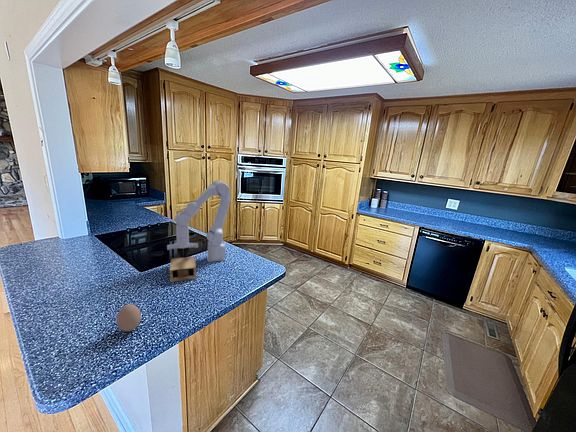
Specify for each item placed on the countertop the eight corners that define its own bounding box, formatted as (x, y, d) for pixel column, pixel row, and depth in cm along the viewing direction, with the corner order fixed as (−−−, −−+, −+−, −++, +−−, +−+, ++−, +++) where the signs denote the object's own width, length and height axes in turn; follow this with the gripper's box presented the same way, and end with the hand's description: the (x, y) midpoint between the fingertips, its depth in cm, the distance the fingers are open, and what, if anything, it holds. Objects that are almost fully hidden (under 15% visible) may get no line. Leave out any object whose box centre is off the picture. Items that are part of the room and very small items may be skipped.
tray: (188, 265, 122) (188, 257, 121) (189, 277, 111) (188, 269, 110) (178, 266, 120) (177, 258, 119) (177, 279, 109) (177, 270, 108)
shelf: (195, 267, 121) (194, 256, 120) (196, 278, 111) (195, 267, 109) (171, 269, 117) (171, 258, 115) (170, 281, 106) (169, 269, 105)
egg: (116, 328, 77) (113, 304, 75) (139, 319, 82) (136, 296, 80) (120, 340, 73) (117, 315, 71) (144, 330, 77) (142, 306, 75)
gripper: (197, 233, 125) (197, 256, 128) (167, 234, 119) (168, 259, 123) (198, 237, 119) (198, 262, 122) (166, 239, 113) (167, 265, 116)
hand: (183, 260), depth 122 cm, fingers closed, pressing on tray
